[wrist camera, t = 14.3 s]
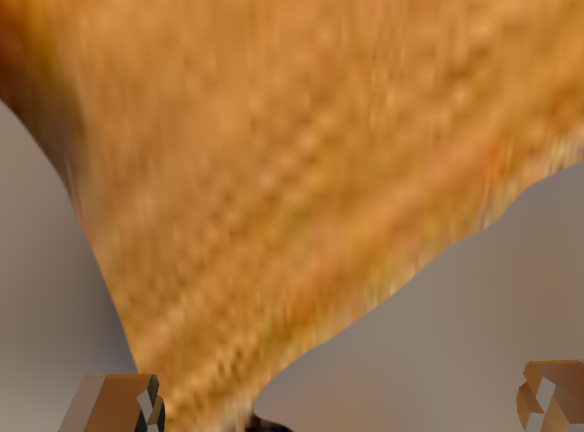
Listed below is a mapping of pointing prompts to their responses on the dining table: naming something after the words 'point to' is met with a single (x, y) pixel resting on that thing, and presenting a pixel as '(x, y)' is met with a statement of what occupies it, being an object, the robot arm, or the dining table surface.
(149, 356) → the dining table surface
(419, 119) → the dining table surface
